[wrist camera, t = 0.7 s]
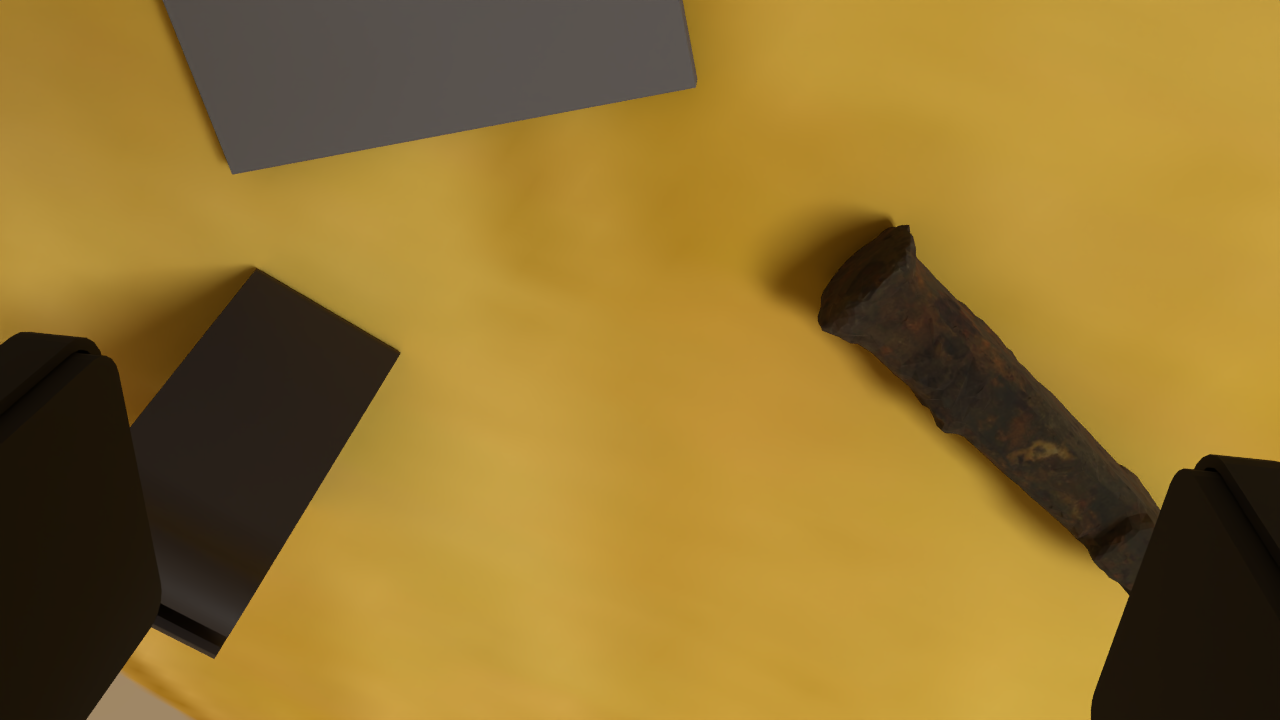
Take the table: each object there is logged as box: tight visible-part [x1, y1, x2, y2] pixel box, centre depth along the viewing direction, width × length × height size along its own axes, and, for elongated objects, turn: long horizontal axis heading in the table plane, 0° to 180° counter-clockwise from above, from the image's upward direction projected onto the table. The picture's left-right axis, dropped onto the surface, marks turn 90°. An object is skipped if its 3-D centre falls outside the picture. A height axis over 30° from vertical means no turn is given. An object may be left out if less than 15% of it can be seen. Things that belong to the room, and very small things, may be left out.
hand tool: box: [818, 225, 1161, 596], centre depth 38 cm, size 19×4×5 cm, turn 45°
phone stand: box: [130, 269, 400, 659], centre depth 37 cm, size 9×6×12 cm, turn 147°
